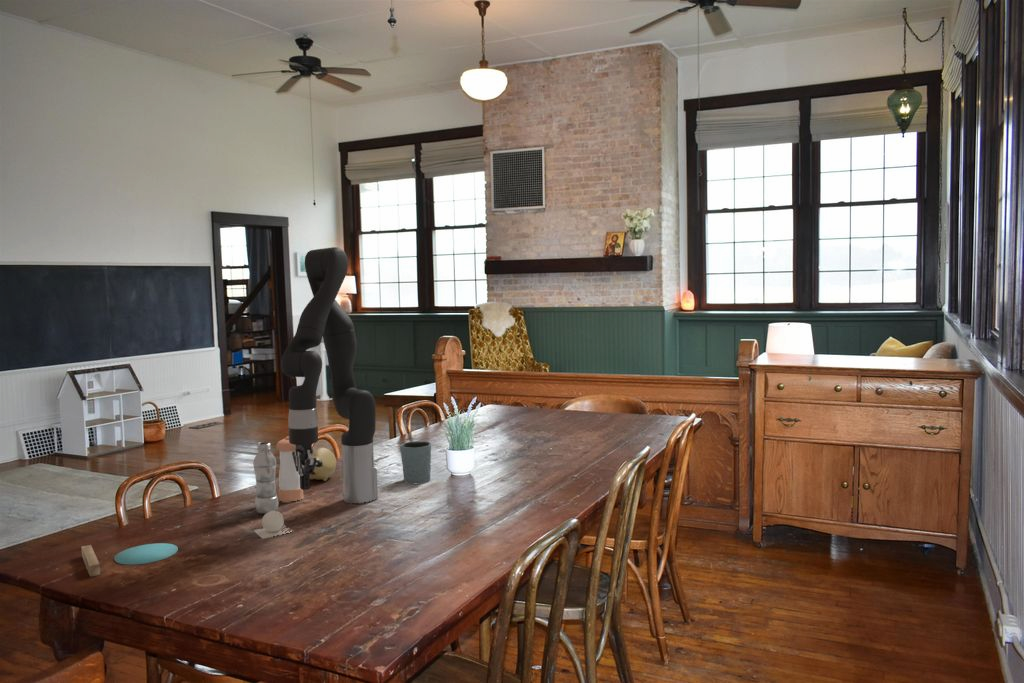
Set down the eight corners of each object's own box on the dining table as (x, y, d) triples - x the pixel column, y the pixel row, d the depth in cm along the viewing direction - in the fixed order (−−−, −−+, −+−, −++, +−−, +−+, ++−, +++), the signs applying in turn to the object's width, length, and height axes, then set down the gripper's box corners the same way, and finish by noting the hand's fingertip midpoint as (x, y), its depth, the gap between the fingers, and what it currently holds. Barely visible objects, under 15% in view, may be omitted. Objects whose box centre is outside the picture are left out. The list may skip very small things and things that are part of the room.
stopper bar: (91, 554, 186) (90, 544, 186) (100, 574, 173) (99, 564, 173) (82, 556, 185) (81, 546, 185) (90, 576, 172) (89, 566, 172)
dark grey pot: (417, 486, 243) (415, 448, 242) (394, 481, 249) (393, 445, 248) (438, 479, 251) (437, 442, 250) (416, 474, 257) (415, 439, 256)
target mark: (171, 540, 196) (171, 539, 196) (183, 555, 184) (183, 554, 184) (110, 552, 188) (110, 551, 188) (119, 569, 176) (119, 568, 176)
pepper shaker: (273, 500, 229) (270, 437, 228) (290, 494, 236) (287, 433, 234) (291, 503, 226) (288, 439, 224) (308, 497, 232) (305, 435, 231)
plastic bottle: (254, 517, 214) (251, 446, 212) (256, 510, 220) (252, 441, 219) (278, 514, 215) (275, 444, 214) (279, 508, 222) (276, 440, 220)
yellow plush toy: (295, 483, 248) (294, 451, 248) (316, 474, 260) (315, 443, 259) (322, 485, 245) (320, 453, 244) (342, 476, 257) (340, 445, 256)
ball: (280, 526, 205) (279, 506, 204) (287, 532, 200) (286, 511, 200) (259, 531, 202) (258, 510, 201) (266, 536, 197) (265, 515, 197)
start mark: (283, 524, 206) (283, 524, 206) (293, 532, 200) (293, 531, 200) (253, 530, 202) (253, 530, 202) (262, 539, 195) (262, 538, 195)
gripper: (325, 427, 201) (327, 492, 202) (308, 420, 212) (310, 481, 213) (297, 430, 197) (299, 496, 198) (281, 423, 208) (283, 486, 209)
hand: (304, 488), depth 205 cm, fingers closed
